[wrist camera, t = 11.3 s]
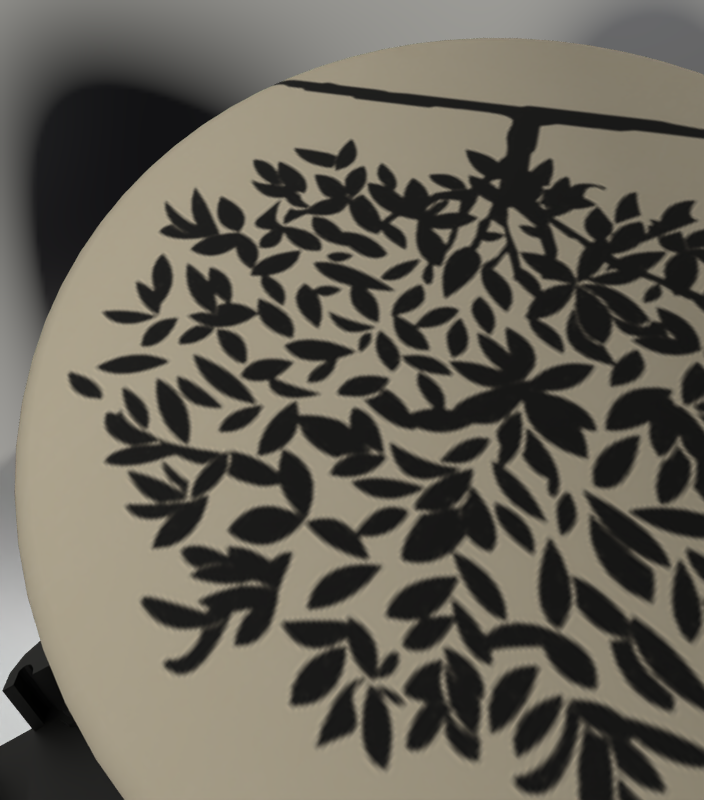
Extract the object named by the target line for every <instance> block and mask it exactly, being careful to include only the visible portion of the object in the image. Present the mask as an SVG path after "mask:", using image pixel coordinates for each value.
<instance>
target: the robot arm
mask: <svg viewBox="0 0 704 800" xmlns="http://www.w3.org/2000/svg"><path fill="white" fill-rule="evenodd" d="M3 692H4V693H5V695H6V696H7V697H8V699H9V700H10V701H11V702H12V704H13V705H14V706H15V707H16V709H17V710H18V711H19V712H20V714H21V715H22V716H23V718H24V719H25V720H26V721H27V723H28V724H29V725H30V726H31V728H32V729H30V730H29V731H27V732H25V733H23V734H21V735H20V736H18V737H16V738H14V739H12V740H10V741H9V742H7V743H5V744H3V745H1V746H0V800H124V798H123V797H122V796H121V794H120V793H119V791H118V790H117V789H116V787H115V786H114V784H113V783H112V781H111V780H110V779H109V777H108V776H107V774H106V773H105V771H104V770H103V769H102V767H101V766H100V764H99V763H98V761H97V760H96V758H95V757H94V755H93V753H92V751H91V749H90V747H89V746H88V744H87V742H86V740H85V738H84V736H83V735H82V733H81V731H80V729H79V727H78V725H77V724H76V722H75V720H74V718H73V716H72V714H71V713H70V711H69V709H68V707H67V705H66V703H65V701H64V699H63V696H62V694H61V691H60V689H59V686H58V684H57V682H56V679H55V677H54V674H53V672H52V669H51V667H50V665H49V662H48V660H47V657H46V655H45V652H44V650H43V647H42V644H41V641H40V642H39V643H37V644H36V645H35V646H34V647H33V648H32V649H31V650H30V651H28V652H27V653H26V654H25V655H24V656H23V657H22V659H21V660H20V661H19V662H18V664H17V665H16V666H15V668H14V669H13V670H12V671H11V673H10V674H9V677H8V679H7V681H6V684H5V686H4V688H3Z"/></svg>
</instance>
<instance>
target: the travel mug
mask: <svg viewBox="0 0 704 800" xmlns="http://www.w3.org/2000/svg"><path fill="white" fill-rule="evenodd" d="M15 504H16V518H17V533H18V545H19V550H20V556H21V562H22V567H23V573H24V578H25V584H26V590H27V595H28V599H29V602H30V606H31V609H32V613H33V616H34V619H35V623H36V626H37V630H38V633H39V637H40V640H41V644H42V647H43V650H44V652H45V655H46V657H47V660H48V662H49V665H50V667H51V669H52V672H53V674H54V677H55V679H56V682H57V684H58V686H59V689H60V691H61V694H62V696H63V699H64V701H65V703H66V705H67V707H68V709H69V711H70V713H71V714H72V716H73V718H74V720H75V722H76V724H77V725H78V727H79V729H80V731H81V733H82V735H83V736H84V738H85V740H86V742H87V744H88V746H89V747H90V749H91V751H92V753H93V755H94V757H95V758H96V760H97V761H98V763H99V764H100V766H101V767H102V769H103V770H104V771H105V773H106V774H107V776H108V777H109V779H110V780H111V781H112V783H113V784H114V786H115V787H116V789H117V790H118V791H119V793H120V794H121V796H122V797H123V798H124V800H704V75H703V74H700V73H698V72H695V71H691V70H688V69H685V68H682V67H678V66H675V65H672V64H669V63H666V62H662V61H659V60H655V59H650V58H647V57H643V56H639V55H634V54H630V53H626V52H621V51H616V50H611V49H606V48H600V47H595V46H589V45H582V44H574V43H566V42H558V41H549V40H548V41H547V40H533V39H518V38H477V39H458V40H444V41H435V42H427V43H417V44H412V45H405V46H400V47H394V48H388V49H382V50H378V51H374V52H370V53H366V54H361V55H357V56H353V57H349V58H347V59H343V60H340V61H336V62H333V63H330V64H327V65H323V66H320V67H317V68H315V69H312V70H309V71H307V72H304V73H302V74H299V75H296V76H294V77H291V78H288V79H286V80H284V81H282V82H280V83H278V84H275V85H273V86H271V87H269V88H267V89H264V90H262V91H260V92H258V93H256V94H254V95H252V96H251V97H249V98H247V99H245V100H243V101H241V102H240V103H238V104H236V105H234V106H232V107H230V108H229V109H227V110H226V111H224V112H222V113H221V114H219V115H218V116H216V117H215V118H213V119H211V120H210V121H208V122H207V123H205V124H204V125H202V126H201V127H199V128H198V129H197V130H195V131H194V132H193V133H191V134H190V135H189V136H188V137H186V138H185V139H183V140H182V141H181V142H179V143H178V144H177V145H175V146H174V147H173V148H172V149H171V150H170V151H168V153H166V154H165V155H164V156H163V157H162V158H161V159H159V160H158V161H157V162H156V163H155V164H154V165H152V166H151V167H150V168H149V169H148V170H147V171H146V172H145V173H144V174H143V175H142V176H141V177H140V178H139V179H138V180H137V181H136V182H135V183H134V184H133V186H131V188H130V189H129V190H128V191H127V192H126V193H125V194H124V195H123V196H122V197H121V198H120V200H119V201H118V202H117V203H116V205H115V206H114V207H113V208H112V209H111V211H110V212H109V213H108V214H107V216H106V217H105V218H104V219H103V220H102V222H101V223H100V224H99V226H98V227H97V229H96V230H95V232H94V233H93V235H92V236H91V238H90V239H89V240H88V242H87V243H86V245H85V247H84V248H83V249H82V250H81V252H80V254H79V256H78V257H77V259H76V261H75V263H74V264H73V266H72V268H71V270H70V271H69V273H68V275H67V277H66V278H65V280H64V282H63V284H62V286H61V288H60V290H59V292H58V294H57V297H56V299H55V301H54V303H53V305H52V308H51V310H50V312H49V314H48V316H47V319H46V321H45V324H44V327H43V330H42V333H41V336H40V339H39V341H38V344H37V347H36V350H35V353H34V356H33V359H32V363H31V367H30V372H29V375H28V380H27V384H26V388H25V392H24V396H23V401H22V407H21V415H20V422H19V429H18V437H17V444H16V469H15Z"/></svg>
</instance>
